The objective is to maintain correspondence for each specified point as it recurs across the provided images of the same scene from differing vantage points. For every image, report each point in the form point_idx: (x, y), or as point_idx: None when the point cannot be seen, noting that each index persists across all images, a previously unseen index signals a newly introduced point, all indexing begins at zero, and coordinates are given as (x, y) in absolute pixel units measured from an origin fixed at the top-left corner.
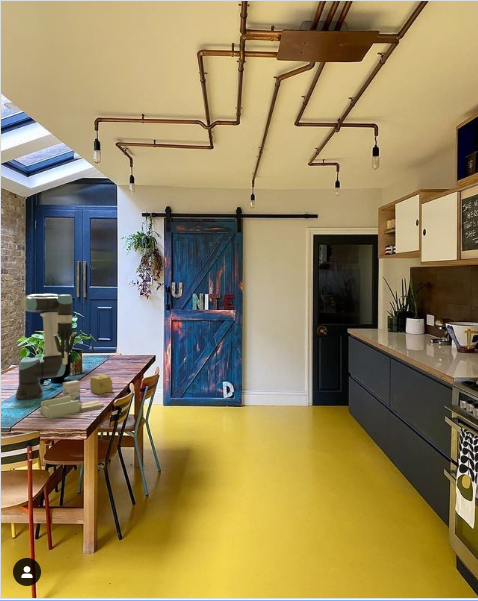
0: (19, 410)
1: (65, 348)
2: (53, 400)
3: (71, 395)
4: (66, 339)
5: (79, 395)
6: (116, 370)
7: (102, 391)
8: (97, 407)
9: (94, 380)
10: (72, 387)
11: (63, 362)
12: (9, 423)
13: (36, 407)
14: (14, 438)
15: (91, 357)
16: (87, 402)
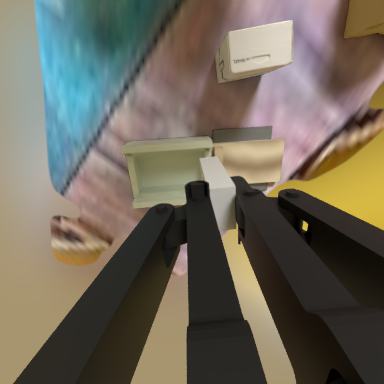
0: (79, 64)
1: (245, 214)
2: (157, 150)
3: (237, 78)
4: (311, 382)
5: (265, 73)
6: None
7: (365, 34)
8: (258, 183)
9: None
10: (249, 73)
11: (201, 174)
12: (55, 170)
13: (129, 65)
14: (66, 256)
15: None
16: (254, 144)
